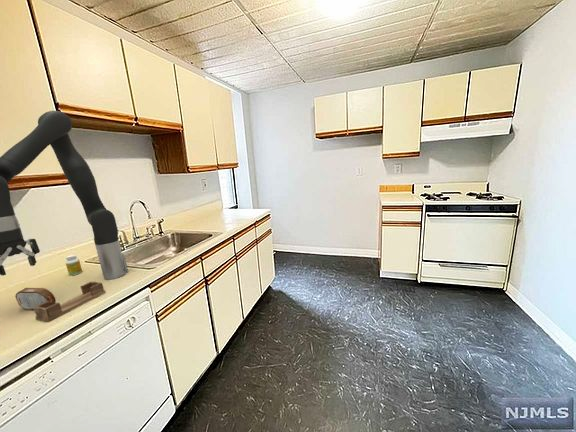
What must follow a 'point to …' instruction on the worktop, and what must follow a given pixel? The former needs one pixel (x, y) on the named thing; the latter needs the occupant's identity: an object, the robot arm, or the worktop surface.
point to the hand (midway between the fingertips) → (18, 270)
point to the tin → (34, 297)
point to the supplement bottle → (73, 265)
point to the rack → (68, 302)
